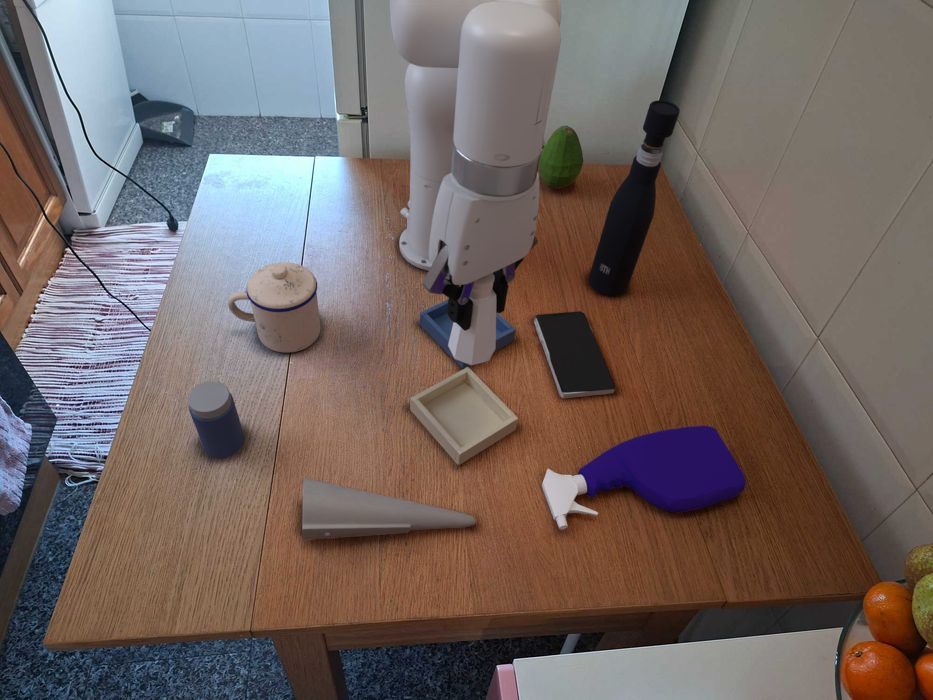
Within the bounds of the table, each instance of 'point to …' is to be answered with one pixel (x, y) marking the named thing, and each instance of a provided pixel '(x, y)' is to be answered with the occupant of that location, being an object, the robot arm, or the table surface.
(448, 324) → the blue tray
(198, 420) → the pepper shaker
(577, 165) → the avocado
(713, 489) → the spray bottle
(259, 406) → the table surface
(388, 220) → the table surface
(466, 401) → the cream tray
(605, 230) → the black bottle
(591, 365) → the smartphone
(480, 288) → the salt shaker
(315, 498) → the grey tapered cone
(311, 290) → the teacup with lid
